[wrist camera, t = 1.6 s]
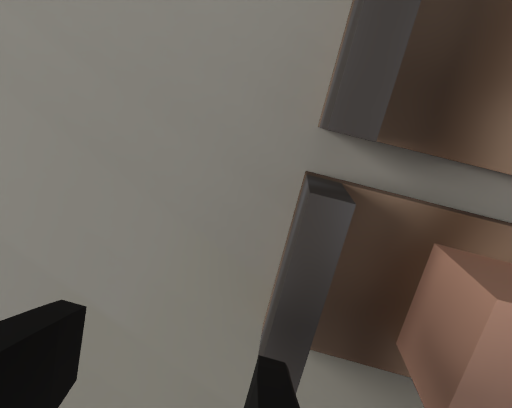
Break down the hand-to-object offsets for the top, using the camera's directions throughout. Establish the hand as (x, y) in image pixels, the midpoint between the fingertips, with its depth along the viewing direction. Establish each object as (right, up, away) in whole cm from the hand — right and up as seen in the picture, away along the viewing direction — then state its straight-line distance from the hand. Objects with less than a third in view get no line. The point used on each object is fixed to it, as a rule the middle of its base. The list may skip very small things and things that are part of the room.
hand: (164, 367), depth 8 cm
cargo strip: (+9, 0, +9) cm, 13 cm away
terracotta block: (+12, -1, +8) cm, 14 cm away
